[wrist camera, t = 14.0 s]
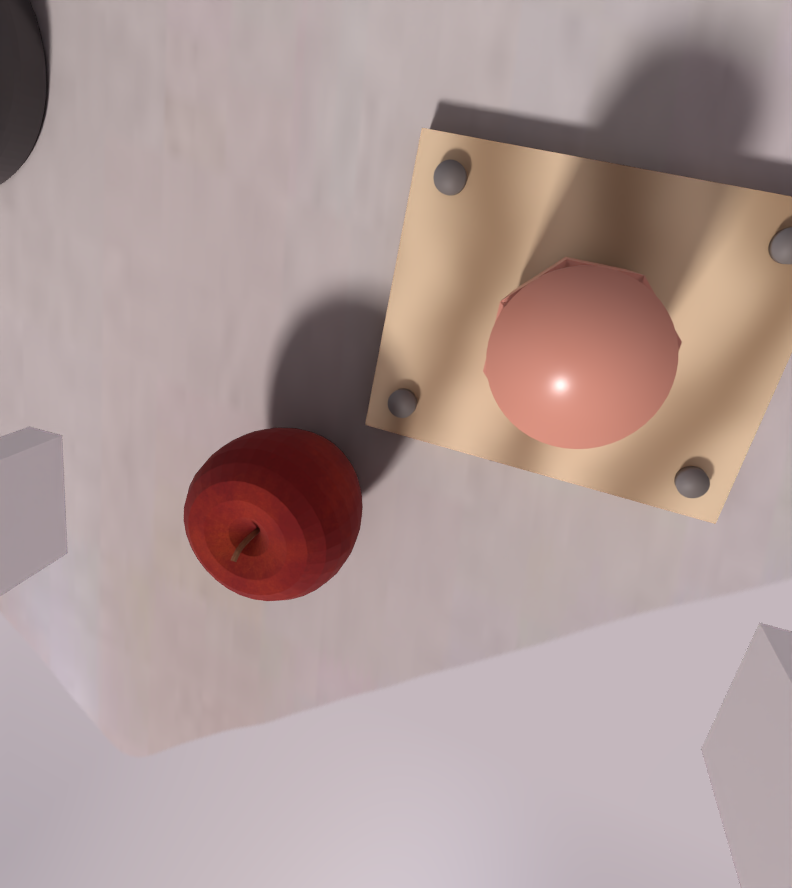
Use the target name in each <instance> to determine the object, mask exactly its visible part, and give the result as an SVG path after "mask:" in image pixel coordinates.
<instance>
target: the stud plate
mask: <svg viewBox="0 0 792 888" xmlns="http://www.w3.org/2000/svg"><path fill="white" fill-rule="evenodd" d="M564 257H569V258H574V259H579V260H584V261H589V262H594V263H598V264H603V265H608V266H613V267H618V268H623V269H627V270H630V271H633V272H636V273H639V274H642V275H645V277H646V279H647V281H648V282H649V284H650V286H651V288H652V289H653V291H654V293H655V295H656V296H657V297H658V298H659V300H660V301H661V302H662V304H663V305H664V307H665V308H666V310H667V311H668V313H669V315H670V317H671V320H672V322H673V324H674V328H675V330H676V332H677V334H678V336H679V338H680V339H681V341H682V343H681V346H680V349H679V352H678V366H677V372H676V376H675V379H674V383H673V385H672V388H671V390H670V392H669V394H668V396H667V398H666V400H665V401H664V403H663V404H662V406H661V407H660V409H659V410H658V411H657V412H656V414H655V415H654V416H653V417H652V418H651V419H650V420H649V421H648V422H647V423H646V424H645V425H643V426H642V427H641V428H639V429H638V430H637V431H635V432H634V433H632V434H630V435H629V436H627V437H625V438H623V439H621V440H619V441H616V442H614V443H611V444H608V445H604V446H601V447H595V448H589V449H567V448H560V447H555V446H551V445H548V444H545V443H542V442H540V441H538V440H536V439H534V438H531V437H530V436H528V435H527V434H525V433H523V432H522V431H521V430H519V429H518V428H517V427H516V426H515V425H513V424H512V423H511V422H510V420H509V419H508V418H507V417H506V416H505V415H504V413H503V412H502V411H501V409H500V408H499V406H498V405H497V403H496V401H495V399H494V397H493V394H492V392H491V389H490V386H489V382H488V379H487V377H486V376H485V374H484V372H483V369H484V365H485V361H486V352H487V346H488V341H489V338H490V334H491V331H492V329H493V326H494V324H495V320H496V316H497V312H498V308H499V304H500V301H501V300H502V299H504V298H505V297H506V296H507V295H508V294H509V293H511V292H512V291H513V290H514V289H516V288H517V287H519V286H521V285H522V284H524V283H525V282H527V281H528V280H530V279H532V278H533V277H535V276H536V275H538V274H539V273H541V272H543V271H544V270H546V269H547V268H549V267H550V266H552V265H553V264H555V263H557V262H558V261H560V260H561V259H563V258H564ZM791 353H792V197H791V196H786V195H781V194H775V193H770V192H765V191H759V190H754V189H748V188H743V187H738V186H732V185H727V184H722V183H716V182H711V181H705V180H700V179H695V178H689V177H684V176H679V175H673V174H668V173H662V172H657V171H652V170H646V169H641V168H636V167H630V166H625V165H619V164H614V163H609V162H603V161H598V160H593V159H587V158H582V157H576V156H571V155H566V154H560V153H555V152H550V151H544V150H539V149H533V148H528V147H523V146H517V145H512V144H507V143H501V142H496V141H490V140H485V139H480V138H474V137H469V136H464V135H458V134H453V133H447V132H442V131H437V130H431V129H426V128H422V130H421V135H420V140H419V146H418V151H417V156H416V161H415V166H414V172H413V177H412V182H411V187H410V193H409V198H408V203H407V208H406V213H405V219H404V224H403V229H402V234H401V240H400V245H399V250H398V255H397V261H396V266H395V271H394V276H393V281H392V287H391V292H390V297H389V302H388V308H387V313H386V318H385V323H384V328H383V334H382V339H381V344H380V349H379V355H378V360H377V365H376V370H375V376H374V381H373V386H372V391H371V396H370V402H369V407H368V412H367V417H366V423H365V425H368V426H371V427H375V428H378V429H382V430H385V431H389V432H392V433H396V434H399V435H403V436H407V437H410V438H414V439H417V440H421V441H424V442H428V443H431V444H435V445H438V446H442V447H445V448H449V449H452V450H456V451H460V452H463V453H467V454H470V455H474V456H477V457H481V458H484V459H488V460H491V461H495V462H498V463H502V464H506V465H509V466H513V467H516V468H520V469H523V470H527V471H530V472H534V473H537V474H541V475H544V476H548V477H552V478H555V479H559V480H562V481H566V482H569V483H573V484H576V485H580V486H583V487H587V488H590V489H594V490H597V491H601V492H605V493H608V494H612V495H615V496H619V497H622V498H626V499H629V500H633V501H636V502H640V503H643V504H647V505H651V506H654V507H658V508H661V509H665V510H668V511H672V512H675V513H679V514H682V515H686V516H689V517H693V518H697V519H700V520H704V521H707V522H711V523H714V524H716V522H717V519H718V517H719V515H720V513H721V510H722V508H723V506H724V504H725V501H726V499H727V497H728V495H729V492H730V490H731V488H732V486H733V483H734V481H735V479H736V477H737V474H738V472H739V470H740V468H741V465H742V463H743V461H744V459H745V456H746V454H747V452H748V450H749V447H750V445H751V443H752V441H753V439H754V436H755V434H756V432H757V430H758V427H759V425H760V423H761V421H762V418H763V416H764V414H765V412H766V409H767V407H768V405H769V403H770V400H771V398H772V396H773V394H774V391H775V389H776V387H777V385H778V382H779V380H780V378H781V376H782V373H783V371H784V369H785V367H786V364H787V362H788V360H789V358H790V355H791Z"/></svg>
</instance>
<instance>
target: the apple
mask: <svg viewBox="0 0 792 888" xmlns="http://www.w3.org/2000/svg"><path fill="white" fill-rule="evenodd" d="M361 517H362V495H361V489H360V485H359V481H358V478H357V475H356V473H355V471H354V469H353V467H352V465H351V463H350V462H349V460H348V459H347V458H346V456H345V455H344V453H343V452H342V451H341V450H340V449H339V448H338V447H337V446H336V445H335V444H333V443H332V442H330V441H329V440H327V439H326V438H324V437H322V436H320V435H318V434H315V433H313V432H310V431H306V430H301V429H297V428H271V429H265V430H260V431H254V432H252V433H249V434H246V435H243V436H241V437H239V438H237V439H235V440H233V441H231V442H229V443H228V444H226V445H225V446H223V447H222V448H221V449H219V450H218V451H217V452H215V453H214V454H213V455H212V456H211V457H210V458H209V459H208V460H207V461H206V463H205V464H204V465H203V466H202V467H201V469H200V470H199V471H198V472H197V473H196V475H195V476H194V478H193V480H192V482H191V484H190V486H189V490H188V494H187V498H186V502H185V506H184V524H185V530H186V535H187V537H188V540H189V543H190V546H191V548H192V550H193V551H194V553H195V555H196V557H197V559H198V560H199V561H200V563H201V564H202V565H203V567H204V568H205V569H206V570H207V571H208V572H209V573H210V574H211V575H212V576H213V577H214V578H215V579H216V580H217V581H218V582H219V583H221V584H222V585H224V586H225V587H226V588H228V589H230V590H231V591H233V592H235V593H237V594H239V595H242V596H245V597H248V598H251V599H256V600H263V601H277V600H289V599H294V598H297V597H301V596H304V595H306V594H308V593H310V592H313V591H315V590H316V589H318V588H319V587H321V586H322V585H323V584H325V583H326V582H327V581H328V580H330V579H331V578H332V577H333V576H334V575H336V574H337V572H338V571H339V570H340V568H341V567H342V565H343V564H344V563H345V561H346V560H347V558H348V557H349V555H350V554H351V552H352V549H353V547H354V544H355V542H356V539H357V536H358V533H359V530H360V525H361Z"/></svg>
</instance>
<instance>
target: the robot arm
mask: <svg viewBox="0 0 792 888" xmlns="http://www.w3.org/2000/svg"><path fill="white" fill-rule="evenodd" d="M45 98H46V66H45V57H44V50H43V44H42V39H41V35H40V31H39V27H38V23H37V20H36V17H35V14H34V11H33V8H32V6H31V3H30V1H29V0H0V184H2V183H3V182H5V181H6V180H7V179H9V178H10V177H11V176H12V175H13V174H14V173H16V171H17V170H18V169H19V168H20V167H21V166H22V164H23V163H24V162H25V160H26V159H27V157H28V155H29V154H30V152H31V150H32V148H33V146H34V144H35V141H36V139H37V136H38V133H39V130H40V127H41V123H42V118H43V113H44V107H45ZM65 554H67V531H66V509H65V487H64V465H63V443H62V435H59V434H55V433H52V432H48V431H44V430H40V429H37V428H33V427H27V428H25V429H22V430H19V431H16V432H13V433H10V434H8V435H5V436H2V437H0V596H1V595H3V594H4V593H6V592H7V591H9V590H11V589H12V588H14V587H15V586H17V585H18V584H20V583H21V582H23V581H25V580H26V579H28V578H29V577H31V576H32V575H34V574H36V573H37V572H39V571H40V570H42V569H43V568H45V567H46V566H48V565H50V564H51V563H53V562H54V561H56V560H57V559H59V558H61V557H62V556H64V555H65ZM701 750H702V754H703V757H704V760H705V764H706V767H707V771H708V774H709V778H710V782H711V785H712V788H713V792H714V796H715V799H716V803H717V806H718V810H719V813H720V817H721V820H722V824H723V827H724V831H725V834H726V837H727V841H728V844H729V848H730V852H731V855H732V859H733V862H734V866H735V869H736V873H737V876H738V880H739V883H740V886H741V888H792V631H789V630H784V629H781V628H777V627H773V626H770V625H766V624H762V623H759V625H758V627H757V629H756V631H755V634H754V635H753V638H752V640H751V642H750V644H749V646H748V648H747V651H746V653H745V655H744V658H743V659H742V661H741V664H740V666H739V668H738V670H737V673H736V675H735V677H734V679H733V681H732V683H731V685H730V688H729V690H728V692H727V694H726V696H725V698H724V700H723V703H722V705H721V707H720V709H719V711H718V713H717V716H716V718H715V720H714V722H713V724H712V726H711V729H710V731H709V733H708V735H707V737H706V739H705V742H704V744H703V746H702V748H701Z"/></svg>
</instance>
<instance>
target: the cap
mask: <svg viewBox="0 0 792 888" xmlns="http://www.w3.org/2000/svg"><path fill="white" fill-rule="evenodd" d="M681 343H682V341H681V339H680V338H679V336H678V334H677V332H676V330H675V328H674V324H673V322H672V320H671V317H670V315H669V313H668V311H667V310H666V308H665V307H664V305H663V304H662V302H661V301H660V300H659V298H658V297H657V296H656V295H655V293H654V291H653V289H652V288H651V286H650V284H649V282H648V281H647V279H646V277H645V275H642V274H639V273H636V272H633V271H630V270H627V269H623V268H618V267H613V266H608V265H603V264H598V263H594V262H589V261H584V260H579V259H574V258H569V257H564V258H563V259H561V260H560V261H558V262H557V263H555V264H553V265H552V266H550V267H549V268H547V269H546V270H544V271H543V272H541V273H539V274H538V275H536V276H535V277H533V278H532V279H530V280H528V281H527V282H525V283H524V284H522V285H521V286H519V287H517V288H516V289H514V290H513V291H512V292H511V293H509V294H508V295H507V296H506V297H505V298H504V299H502V300H501V301H500V304H499V308H498V312H497V316H496V320H495V324H494V326H493V329H492V331H491V334H490V338H489V341H488V346H487V352H486V361H485V365H484V369H483V372H484V374H485V376H486V377H487V379H488V382H489V386H490V389H491V392H492V394H493V397H494V399H495V401H496V403H497V405H498V406H499V408H500V409H501V411H502V412H503V413H504V415H505V416H506V417H507V418H508V419H509V420H510V422H511V423H512V424H513V425H515V426H516V427H517V428H518V429H519V430H521V431H522V432H523V433H525V434H527V435H528V436H530V437H531V438H534V439H536V440H538V441H540V442H542V443H545V444H548V445H551V446H555V447H560V448H567V449H589V448H595V447H601V446H604V445H608V444H611V443H614V442H616V441H619V440H621V439H623V438H625V437H627V436H629V435H630V434H632V433H634V432H635V431H637V430H638V429H639V428H641V427H642V426H643V425H645V424H646V423H647V422H648V421H649V420H650V419H651V418H652V417H653V416H654V415H655V414H656V412H657V411H658V410H659V409H660V407H661V406H662V404H663V403H664V401H665V400H666V398H667V396H668V394H669V392H670V390H671V388H672V385H673V383H674V379H675V376H676V372H677V366H678V352H679V349H680V346H681Z"/></svg>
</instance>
